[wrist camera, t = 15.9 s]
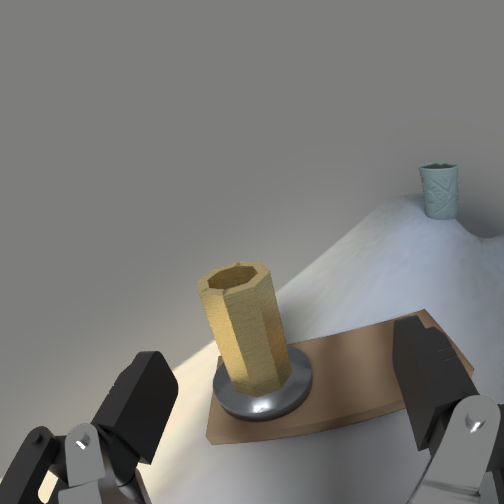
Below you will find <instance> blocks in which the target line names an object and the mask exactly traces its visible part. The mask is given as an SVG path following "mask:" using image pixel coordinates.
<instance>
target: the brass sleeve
mask: <svg viewBox="0 0 504 504" xmlns="http://www.w3.org/2000/svg"><path fill="white" fill-rule="evenodd" d="M197 286H198V292H199V296H200V298H201V301H202V304H203V307H204V310H205V313H206V315H207V318H208V321H209V324H210V326H211V329H212V332H213V335H214V337H215V340H216V343H217V345H218V348H219V351H220V353H221V356H222V358H223V361H224V364H225V366H226V369H227V371H228V374H229V376H230V379H231V381H232V384H233V386H234V388H235V391H236V392H239V393H242V394H246V395H249V396H252V397H256V398H257V397H260V396H263V395H266V394H269V393H272V392H275V391H278V390H281V389H282V387H283V386H284V384H285V383H286V381H287V380H288V378H289V377H290V375H291V373H292V369H291V365H290V360H289V355H288V351H287V346H286V342H285V337H284V332H283V328H282V323H281V319H280V314H279V310H278V305H277V301H276V296H275V292H274V287H273V283H272V279H271V274H270V271H269V270H268V268H267V267H266V266H265V265H264V264H263V263H262V262H241V261H240V262H236V263H233V264H230V265H226V266H223V267H219V268H216V269H213V270H212V271H211V272H210V273H208V274H207V275H205V276H204V277H203V278H201V279H200V280H199V281H197Z"/></svg>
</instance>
